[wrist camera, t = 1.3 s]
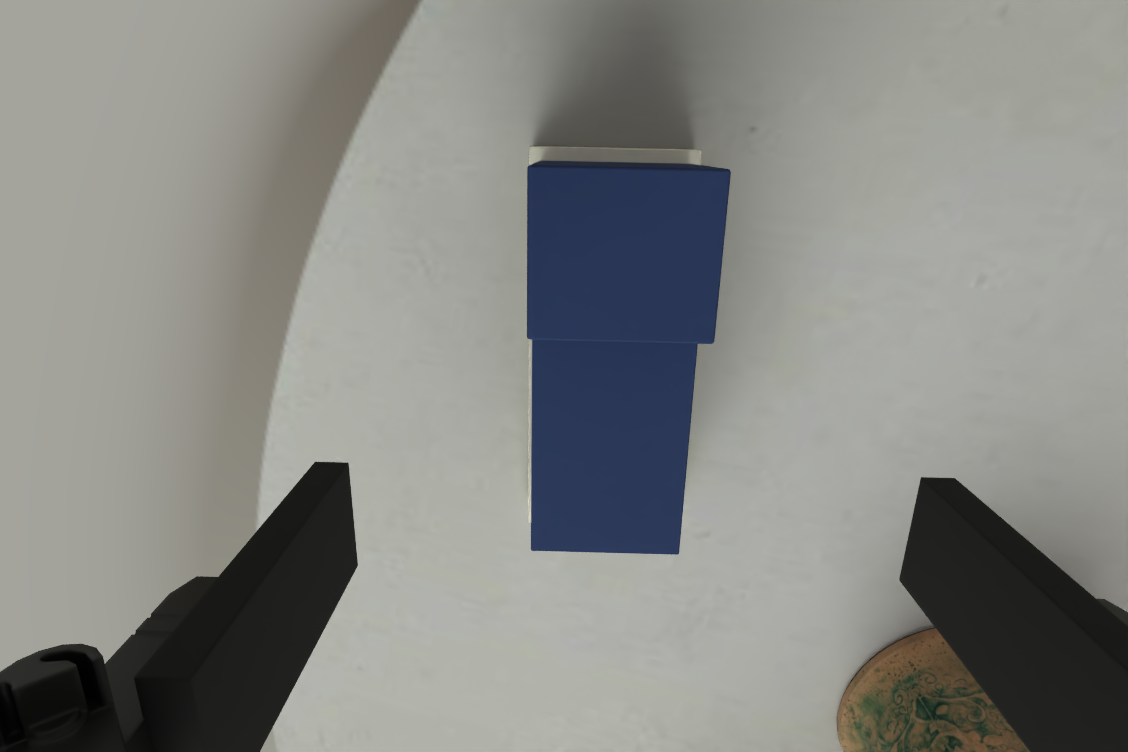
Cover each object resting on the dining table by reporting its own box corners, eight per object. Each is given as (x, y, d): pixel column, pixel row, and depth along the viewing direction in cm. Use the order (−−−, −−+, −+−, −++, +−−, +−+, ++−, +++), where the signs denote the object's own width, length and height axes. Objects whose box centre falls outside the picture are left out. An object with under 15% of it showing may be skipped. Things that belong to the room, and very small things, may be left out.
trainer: (531, 146, 26) (512, 145, 18) (694, 149, 26) (748, 150, 18) (530, 505, 31) (514, 628, 23) (666, 508, 31) (697, 633, 23)
